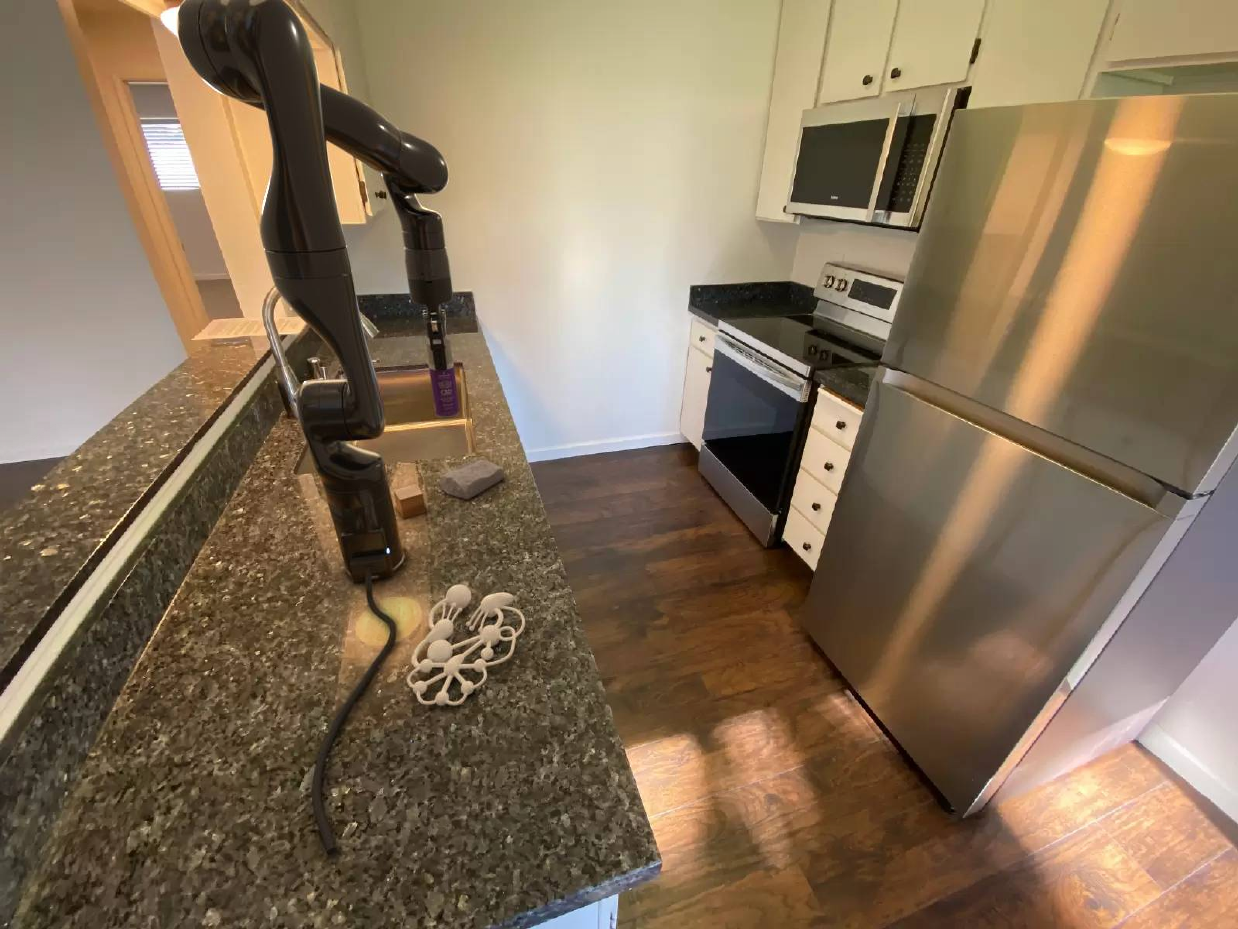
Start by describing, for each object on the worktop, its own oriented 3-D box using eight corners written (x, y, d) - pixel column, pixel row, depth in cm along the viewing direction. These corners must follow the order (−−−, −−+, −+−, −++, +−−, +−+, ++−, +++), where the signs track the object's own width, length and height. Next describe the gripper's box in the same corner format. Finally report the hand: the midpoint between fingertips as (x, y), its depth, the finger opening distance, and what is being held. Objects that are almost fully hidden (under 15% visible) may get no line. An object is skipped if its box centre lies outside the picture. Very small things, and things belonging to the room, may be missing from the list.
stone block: (437, 496, 113) (468, 502, 108) (432, 475, 112) (463, 480, 106) (477, 475, 122) (508, 480, 117) (473, 456, 121) (504, 460, 115)
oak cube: (426, 512, 105) (422, 493, 103) (403, 519, 102) (399, 500, 100) (418, 502, 108) (415, 484, 106) (397, 508, 105) (393, 490, 103)
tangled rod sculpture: (488, 725, 65) (488, 705, 63) (380, 701, 67) (376, 680, 64) (534, 612, 82) (535, 593, 80) (447, 594, 83) (445, 575, 81)
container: (445, 420, 104) (435, 346, 97) (431, 414, 107) (420, 341, 99) (464, 413, 107) (455, 341, 100) (450, 408, 110) (440, 337, 103)
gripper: (408, 268, 99) (422, 356, 107) (404, 281, 87) (419, 378, 95) (450, 268, 101) (460, 354, 109) (451, 280, 89) (462, 376, 97)
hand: (441, 365), depth 102 cm, fingers closed on container, 4 cm apart
